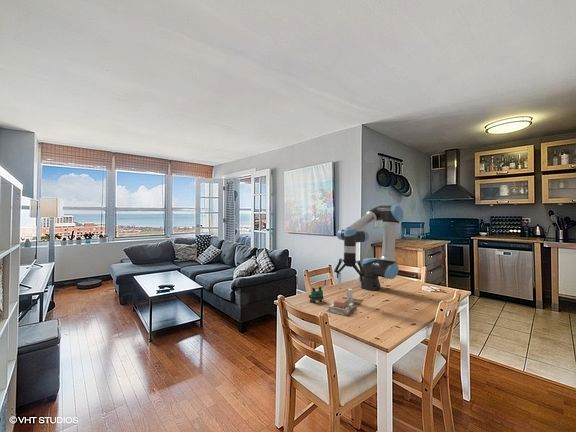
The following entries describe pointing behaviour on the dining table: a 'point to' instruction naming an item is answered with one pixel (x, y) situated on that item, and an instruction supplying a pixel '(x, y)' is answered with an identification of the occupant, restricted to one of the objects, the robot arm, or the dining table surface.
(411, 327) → the dining table surface
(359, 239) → the robot arm
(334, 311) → the lane shelf
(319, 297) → the green toy creature
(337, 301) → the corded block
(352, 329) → the dining table surface
